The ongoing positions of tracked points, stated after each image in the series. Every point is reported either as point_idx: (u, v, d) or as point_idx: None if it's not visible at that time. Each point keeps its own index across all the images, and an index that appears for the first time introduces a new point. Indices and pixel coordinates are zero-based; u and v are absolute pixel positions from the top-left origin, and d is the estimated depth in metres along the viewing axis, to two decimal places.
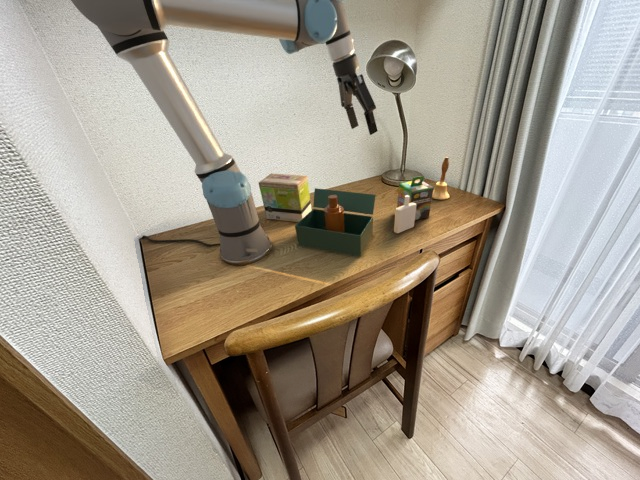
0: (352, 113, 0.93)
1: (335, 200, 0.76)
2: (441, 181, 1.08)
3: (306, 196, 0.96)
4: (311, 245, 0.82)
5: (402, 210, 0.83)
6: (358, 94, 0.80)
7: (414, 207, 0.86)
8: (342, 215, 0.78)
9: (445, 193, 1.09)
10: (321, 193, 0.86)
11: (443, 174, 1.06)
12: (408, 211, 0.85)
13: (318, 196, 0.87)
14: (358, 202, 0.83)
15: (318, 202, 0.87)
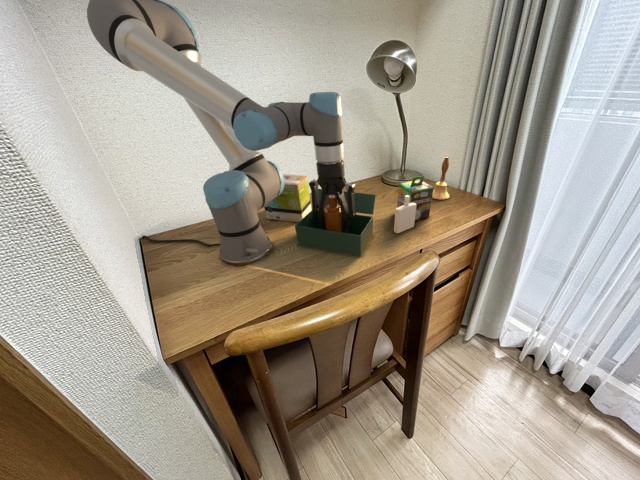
0: None
1: (335, 200, 0.76)
2: (441, 181, 1.08)
3: (306, 196, 0.96)
4: (311, 245, 0.82)
5: (402, 210, 0.83)
6: (342, 199, 0.75)
7: (414, 207, 0.86)
8: (342, 215, 0.78)
9: (445, 193, 1.09)
10: (321, 193, 0.86)
11: (443, 174, 1.06)
12: (408, 211, 0.85)
13: None
14: (358, 202, 0.83)
15: None
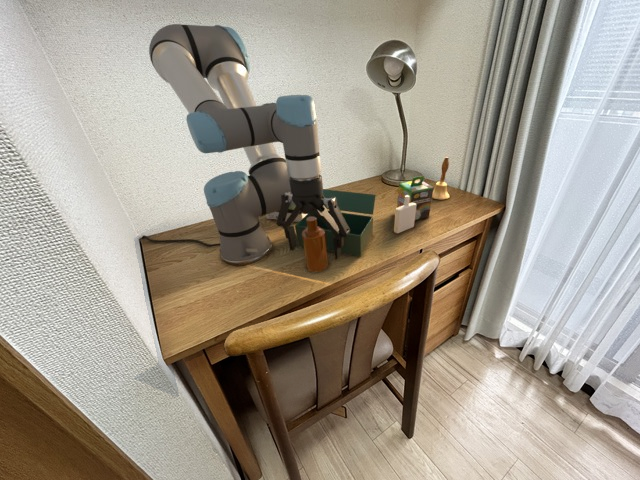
0: (293, 233, 0.72)
1: (314, 223, 0.66)
2: (441, 181, 1.08)
3: None
4: None
5: (402, 210, 0.83)
6: (326, 217, 0.63)
7: (414, 207, 0.86)
8: (322, 239, 0.68)
9: (445, 193, 1.09)
10: None
11: (443, 174, 1.06)
12: (408, 211, 0.85)
13: None
14: (358, 202, 0.83)
15: None
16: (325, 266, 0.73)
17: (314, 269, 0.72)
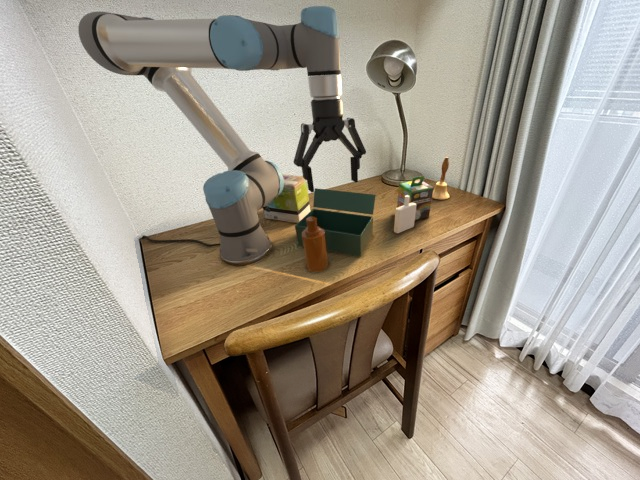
0: None
1: (314, 223, 0.66)
2: (441, 181, 1.08)
3: (304, 197, 0.96)
4: None
5: (402, 210, 0.83)
6: None
7: (414, 207, 0.86)
8: (322, 239, 0.68)
9: (445, 193, 1.09)
10: (321, 193, 0.86)
11: (443, 174, 1.06)
12: (408, 211, 0.85)
13: (318, 196, 0.87)
14: (358, 202, 0.83)
15: (318, 202, 0.87)
16: (325, 266, 0.73)
17: (314, 269, 0.72)
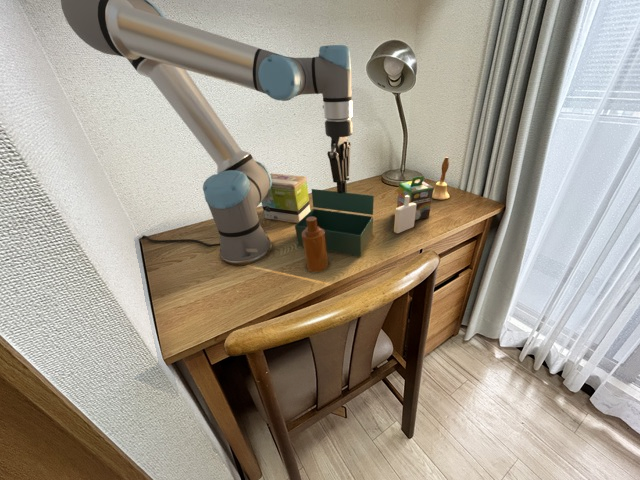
0: None
1: (314, 223, 0.66)
2: (441, 181, 1.08)
3: (304, 197, 0.96)
4: None
5: (402, 210, 0.83)
6: None
7: (414, 207, 0.86)
8: (322, 239, 0.68)
9: (445, 193, 1.09)
10: (319, 194, 0.85)
11: (443, 174, 1.06)
12: (408, 211, 0.85)
13: (316, 197, 0.86)
14: (357, 203, 0.82)
15: (317, 202, 0.87)
16: (325, 266, 0.73)
17: (314, 269, 0.72)
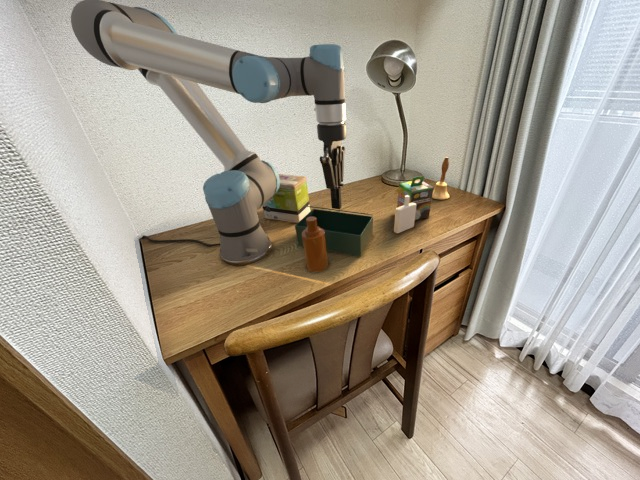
0: None
1: (314, 223, 0.66)
2: (441, 181, 1.08)
3: (304, 197, 0.96)
4: None
5: (402, 210, 0.83)
6: None
7: (414, 207, 0.86)
8: (322, 239, 0.68)
9: (445, 193, 1.09)
10: None
11: (443, 174, 1.06)
12: (408, 211, 0.85)
13: None
14: None
15: None
16: (325, 266, 0.73)
17: (314, 269, 0.72)
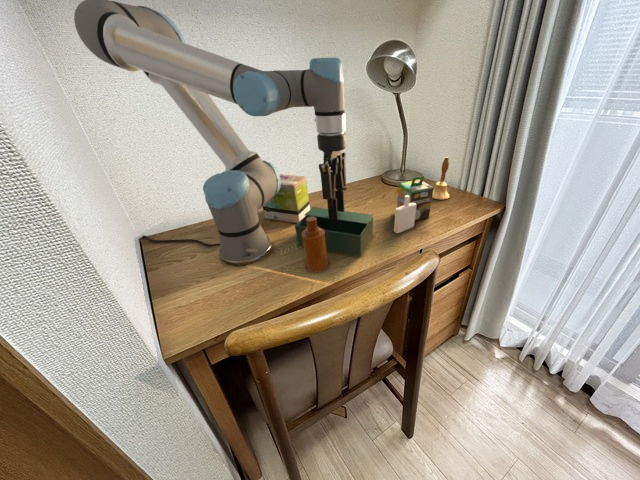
0: None
1: (314, 223, 0.66)
2: (441, 181, 1.08)
3: (304, 197, 0.96)
4: None
5: (402, 210, 0.83)
6: None
7: (414, 207, 0.86)
8: (322, 239, 0.68)
9: (445, 193, 1.09)
10: None
11: (443, 174, 1.06)
12: (408, 211, 0.85)
13: None
14: None
15: None
16: (325, 266, 0.73)
17: (314, 269, 0.72)
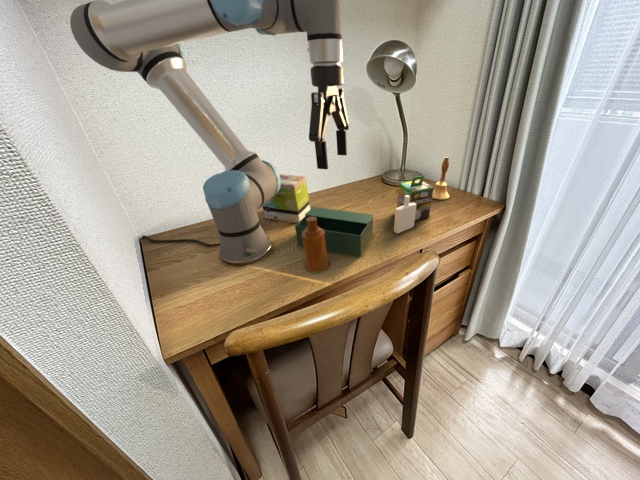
0: None
1: (314, 223, 0.66)
2: (441, 181, 1.08)
3: (304, 197, 0.96)
4: None
5: (402, 210, 0.83)
6: None
7: (414, 207, 0.86)
8: (322, 239, 0.68)
9: (445, 193, 1.09)
10: None
11: (443, 174, 1.06)
12: (408, 211, 0.85)
13: None
14: None
15: None
16: (325, 266, 0.73)
17: (314, 269, 0.72)
